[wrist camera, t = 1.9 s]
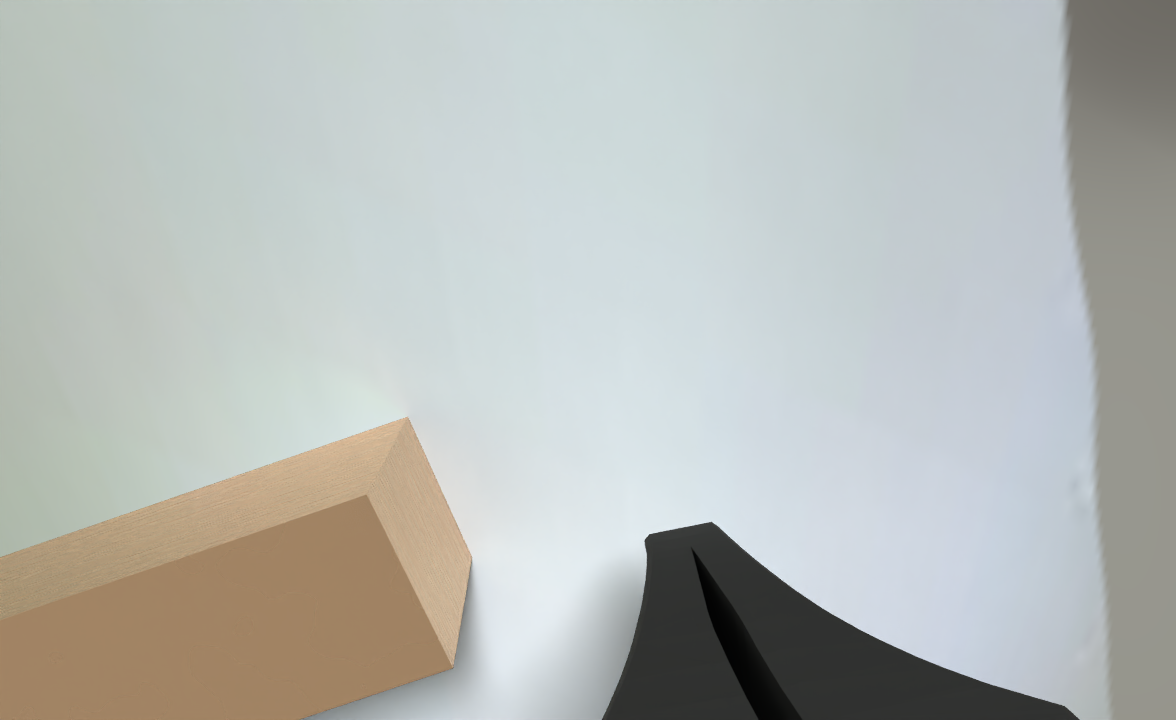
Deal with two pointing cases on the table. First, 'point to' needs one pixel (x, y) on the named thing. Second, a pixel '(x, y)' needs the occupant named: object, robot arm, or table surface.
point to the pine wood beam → (243, 594)
